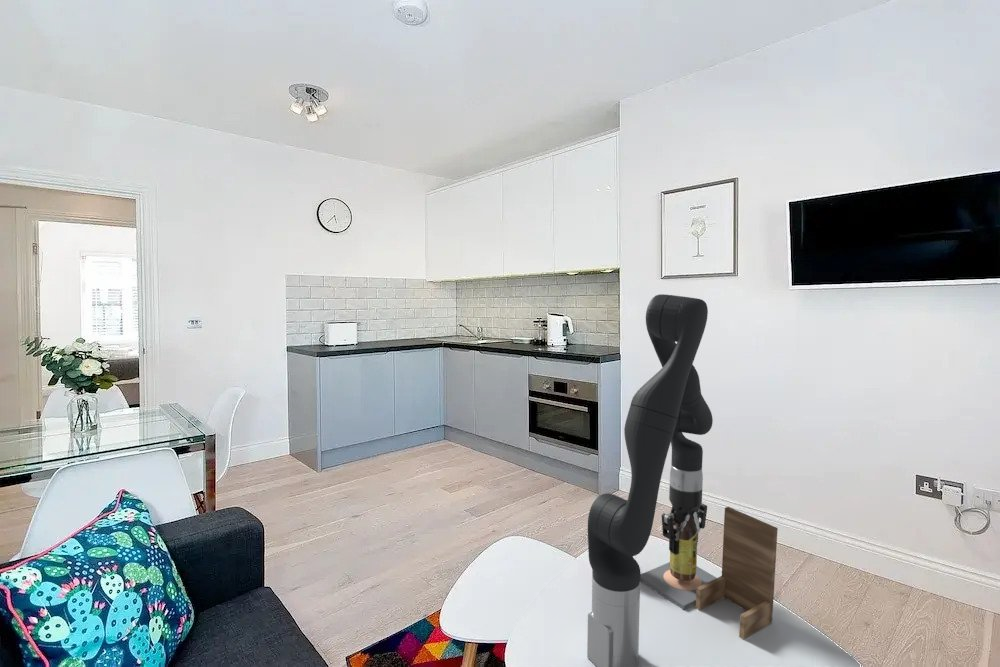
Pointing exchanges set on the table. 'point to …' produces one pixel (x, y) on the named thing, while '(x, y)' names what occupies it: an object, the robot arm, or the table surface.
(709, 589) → the shelf nook
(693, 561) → the sauce bottle
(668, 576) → the mat
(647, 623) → the table surface
